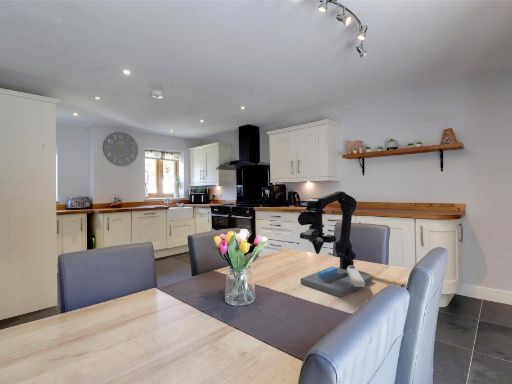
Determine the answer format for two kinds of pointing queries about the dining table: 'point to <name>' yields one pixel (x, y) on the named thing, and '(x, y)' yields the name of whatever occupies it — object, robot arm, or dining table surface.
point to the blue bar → (327, 272)
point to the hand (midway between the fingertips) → (317, 253)
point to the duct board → (339, 285)
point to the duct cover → (355, 276)
